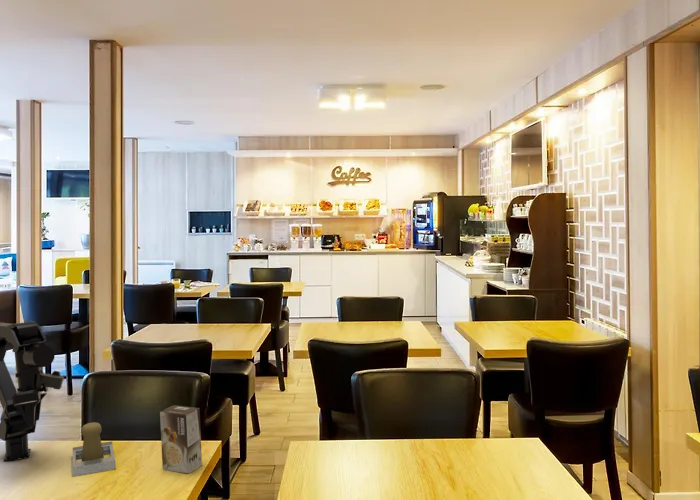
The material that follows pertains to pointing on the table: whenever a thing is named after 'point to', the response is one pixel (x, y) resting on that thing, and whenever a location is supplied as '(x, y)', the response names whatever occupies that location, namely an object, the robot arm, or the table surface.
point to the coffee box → (181, 438)
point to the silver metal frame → (93, 461)
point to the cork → (92, 442)
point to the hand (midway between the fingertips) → (34, 423)
